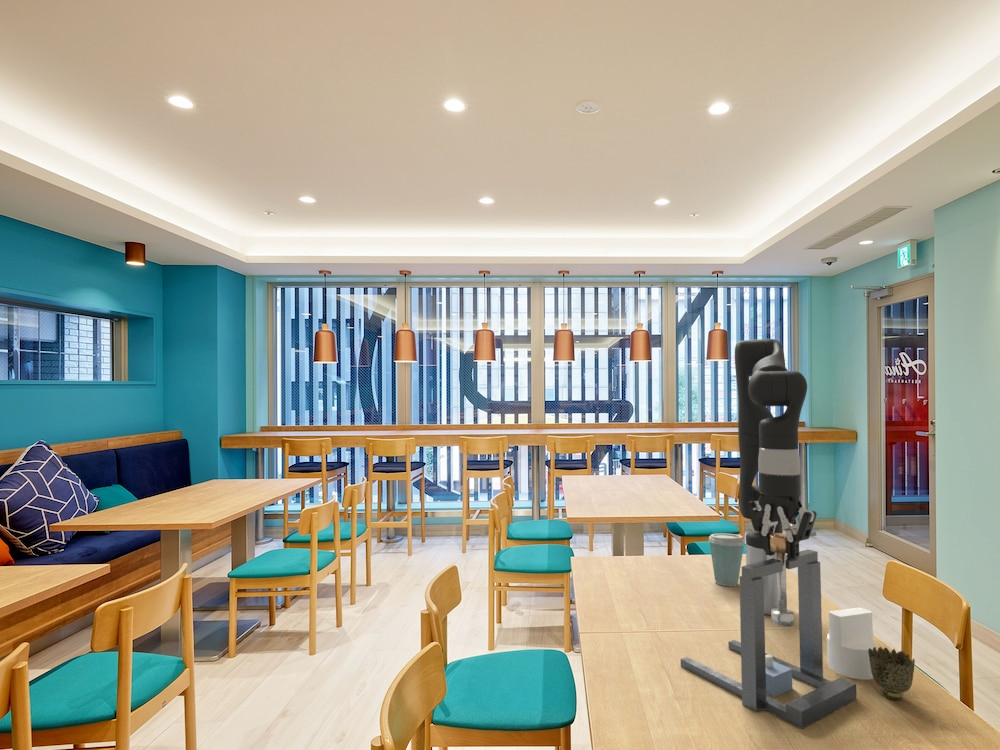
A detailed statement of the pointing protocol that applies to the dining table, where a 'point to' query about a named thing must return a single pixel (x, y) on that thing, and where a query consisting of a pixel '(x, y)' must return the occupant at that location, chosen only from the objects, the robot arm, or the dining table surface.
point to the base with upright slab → (850, 642)
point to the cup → (891, 671)
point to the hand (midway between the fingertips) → (781, 557)
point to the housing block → (777, 677)
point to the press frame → (753, 658)
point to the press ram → (781, 582)
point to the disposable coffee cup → (726, 557)
